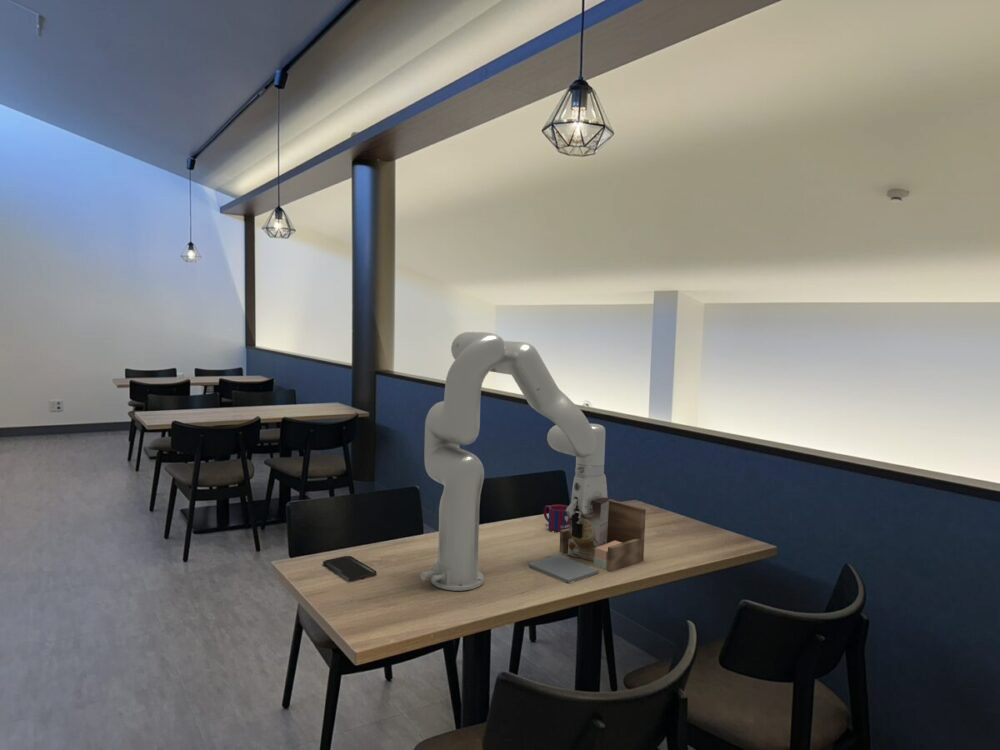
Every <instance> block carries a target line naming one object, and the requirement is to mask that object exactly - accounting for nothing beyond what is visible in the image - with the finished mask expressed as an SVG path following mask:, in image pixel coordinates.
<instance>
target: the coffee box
mask: <svg viewBox="0 0 1000 750" xmlns="http://www.w3.org/2000/svg"><path fill="white" fill-rule="evenodd" d="M574 499H575V498H574ZM609 499H610V498H609V497H607V498H602V499H596V500H593V501H591V505H590V514H589V515H584V516H583V519H582V521H581V524H582V525H583V527H582V538H581V539H579V538H576V537H573V536H572V522H571V520H570V523H569V542H568V552H567V555H568V556H572V557H576V558H579V559H583V560H584V559H585V560H588V561H591V562H594V557H595V548H596V547H599V546H602V545H604V544H607V530H608V512H609ZM577 511H579V508H578V505H577ZM573 512H574V511H573ZM578 517H579V514H577V518H578Z"/></svg>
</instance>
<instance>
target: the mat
mask: <svg viewBox="0 0 1000 750" xmlns="http://www.w3.org/2000/svg"><path fill="white" fill-rule="evenodd" d="M528 566H529V568H531V569H533V570H535V569H536V570H535V571H538V572H540V573H543V574H546V575H547V574H548V576H550V577H552V578H554V577H555V578H554V579H557V580H559V579H560V580H559V581H561V580H562V582H564V581H565V582H564V583H566V582H568V583H569V584H571V583H573V582H572V581H574V582H577V581H580V580H583V579H586V578H589V577H592V576H595V575H598V574H599V572H600V571H599V569H597V568H594V567H591V566H590V565H589V566H588V565H586V564H583V563H581V562H579V561H576V560H573V559H570V558H567V557H565V556H563V555H560V554H557V555H556V554H555V555H554V556H551V557H550V556H549V557H546V558H542V559H540V560H536V561H532V562H528ZM594 574H595V575H594ZM588 576H589V577H588ZM585 577H586V578H585ZM582 578H583V579H582ZM579 579H580V580H579ZM576 580H577V581H576ZM570 582H571V583H570ZM568 583H567V584H568Z"/></svg>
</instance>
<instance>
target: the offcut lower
mask: <svg viewBox="0 0 1000 750" xmlns="http://www.w3.org/2000/svg"><path fill="white" fill-rule="evenodd" d="M593 566H595V567H597V566H598V568H600V567H601V568H600V569H603V570H607V561H605V560H602V559H599V558H596V557H594V561H593Z"/></svg>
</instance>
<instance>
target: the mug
mask: <svg viewBox="0 0 1000 750" xmlns="http://www.w3.org/2000/svg"><path fill="white" fill-rule="evenodd" d="M568 506H569V505H566V504H565V505H564V504H551V505H549V504H548V505H545V506H544V508H543V517H544V518H545V520H546V522H547V525H548V526H547V527H548V530H549V531H550V530H551V532H552V531H554V532H553V533H557V532H560V530H564V529H568V528H569V523H570V518H569V517H568V514H567V512H566V509H567V507H568ZM547 509H548V515H547Z"/></svg>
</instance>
